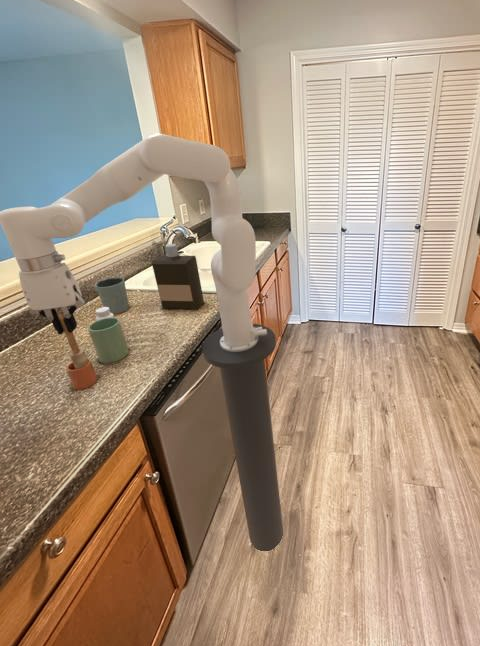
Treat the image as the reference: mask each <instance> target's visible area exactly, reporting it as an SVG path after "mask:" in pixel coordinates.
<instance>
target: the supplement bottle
mask: <svg viewBox="0 0 480 646" xmlns="http://www.w3.org/2000/svg"><path fill="white" fill-rule="evenodd" d="M95 314H96V317H95V321H98V320H100V319H104V318H110V317H115V314H113V313H110V309H109V307H104V306H102V307H98V308H97V309H96V310H95Z"/></svg>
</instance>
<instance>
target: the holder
mask: <svg viewBox="0 0 480 646" xmlns="http://www.w3.org/2000/svg"><path fill="white" fill-rule="evenodd" d="M87 359H88V364H87V365H85V366H84V367H82V368H79V369H75V367H74V364H73V362H72V361H71V362H69V363H68V364H67V366H66V367H65V370H66V372H67V375H68V378H69V380H70V382H71V385H72V387H73V388H74V390H84V389H87V388H89V387H92V386H93V385H94V384H96V383H97V381H98V376H97V373H96V371H95V367H94V365H93V362H92V359H91V358H89V357H87Z"/></svg>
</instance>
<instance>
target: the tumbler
mask: <svg viewBox="0 0 480 646" xmlns="http://www.w3.org/2000/svg"><path fill="white" fill-rule="evenodd" d="M87 331H88V333H89V336H90V339H91V341H92V344H93V348H94V350H95V353H96V355H97V359H98V361H99V362H100V363H102V364H111V363H116V362H118V361H120V360H123V359H124V358H126V356H128V354H129V352H130V351H129V346H128V342H127V340H126V337H125V333H124V330H123V327H122V323H121V319H120V318H118V317H115V316H114V317H110V318H104V319H100V320H98V321H96V320H95V321H93V322H92V323H90V324H89V325H88V327H87Z"/></svg>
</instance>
